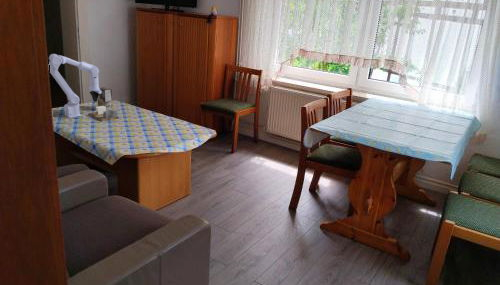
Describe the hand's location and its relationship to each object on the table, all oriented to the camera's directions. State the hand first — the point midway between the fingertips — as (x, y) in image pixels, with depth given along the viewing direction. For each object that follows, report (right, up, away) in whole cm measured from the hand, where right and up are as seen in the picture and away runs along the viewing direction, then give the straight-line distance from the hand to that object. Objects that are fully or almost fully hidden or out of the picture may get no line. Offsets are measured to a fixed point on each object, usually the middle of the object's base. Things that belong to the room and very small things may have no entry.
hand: (95, 101), depth 281 cm
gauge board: (+7, -11, -3) cm, 14 cm away
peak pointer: (+3, -11, -6) cm, 13 cm away
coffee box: (+1, -5, +16) cm, 17 cm away
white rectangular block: (+4, -9, -2) cm, 10 cm away
